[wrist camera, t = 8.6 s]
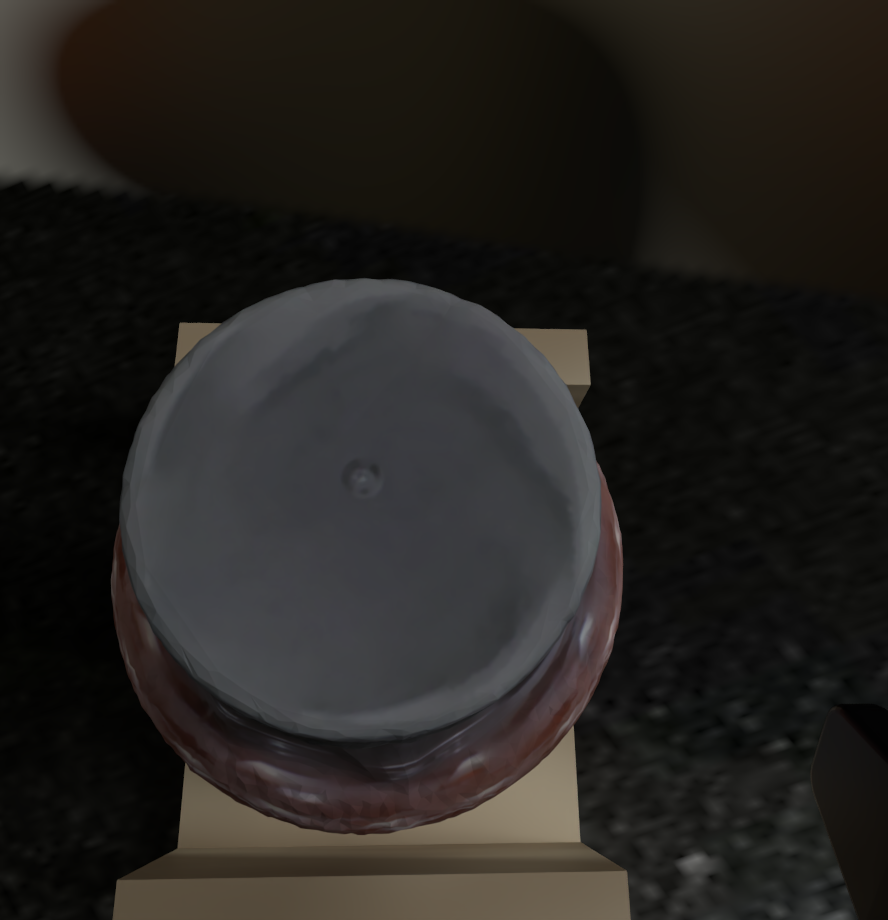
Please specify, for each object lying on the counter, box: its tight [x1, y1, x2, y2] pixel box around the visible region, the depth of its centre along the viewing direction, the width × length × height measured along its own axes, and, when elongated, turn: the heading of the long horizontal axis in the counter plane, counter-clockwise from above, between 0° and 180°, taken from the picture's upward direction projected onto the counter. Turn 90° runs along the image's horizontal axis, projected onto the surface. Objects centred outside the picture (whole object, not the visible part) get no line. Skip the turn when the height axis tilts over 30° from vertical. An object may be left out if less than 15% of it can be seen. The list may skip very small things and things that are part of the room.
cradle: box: [113, 323, 631, 920], centre depth 16 cm, size 11×8×4 cm
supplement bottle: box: [111, 278, 623, 835], centre depth 12 cm, size 6×6×11 cm
